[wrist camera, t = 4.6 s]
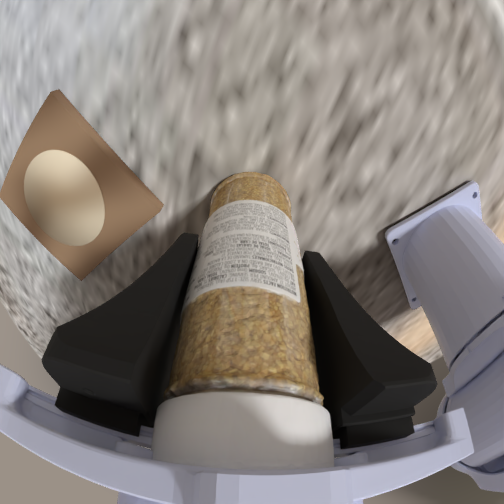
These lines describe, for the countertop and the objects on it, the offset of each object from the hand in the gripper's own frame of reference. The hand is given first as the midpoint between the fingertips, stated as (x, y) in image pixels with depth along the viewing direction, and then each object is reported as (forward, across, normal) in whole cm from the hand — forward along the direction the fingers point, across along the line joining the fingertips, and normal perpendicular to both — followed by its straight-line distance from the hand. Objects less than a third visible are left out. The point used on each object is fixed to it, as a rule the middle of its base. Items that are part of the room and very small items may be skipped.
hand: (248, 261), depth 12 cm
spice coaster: (+5, +12, +1) cm, 13 cm away
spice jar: (+5, 0, 0) cm, 5 cm away
